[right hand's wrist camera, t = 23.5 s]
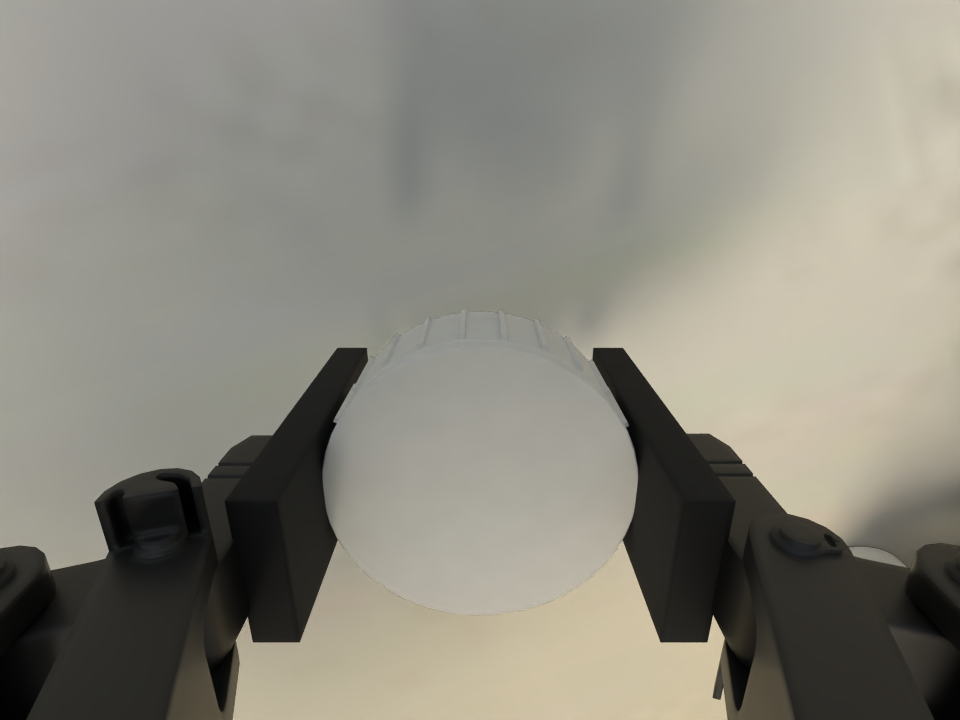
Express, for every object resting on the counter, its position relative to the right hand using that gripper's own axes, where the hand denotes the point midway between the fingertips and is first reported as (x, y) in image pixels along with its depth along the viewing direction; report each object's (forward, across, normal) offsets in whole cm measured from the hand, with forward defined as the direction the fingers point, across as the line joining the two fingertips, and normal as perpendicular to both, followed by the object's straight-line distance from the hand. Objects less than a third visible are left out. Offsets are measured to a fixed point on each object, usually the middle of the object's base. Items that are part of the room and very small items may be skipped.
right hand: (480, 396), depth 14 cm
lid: (-4, 0, 0) cm, 4 cm away
